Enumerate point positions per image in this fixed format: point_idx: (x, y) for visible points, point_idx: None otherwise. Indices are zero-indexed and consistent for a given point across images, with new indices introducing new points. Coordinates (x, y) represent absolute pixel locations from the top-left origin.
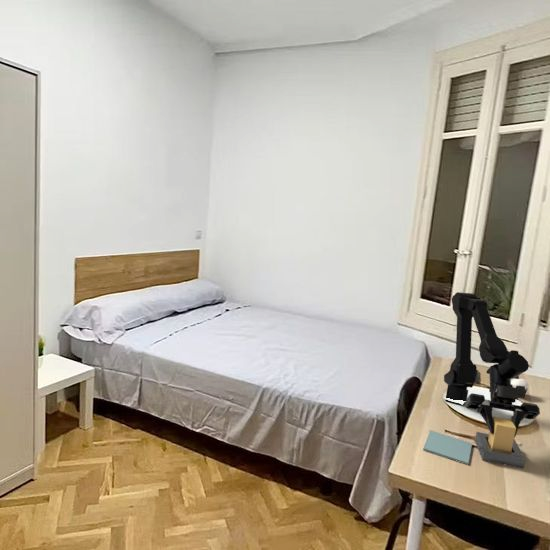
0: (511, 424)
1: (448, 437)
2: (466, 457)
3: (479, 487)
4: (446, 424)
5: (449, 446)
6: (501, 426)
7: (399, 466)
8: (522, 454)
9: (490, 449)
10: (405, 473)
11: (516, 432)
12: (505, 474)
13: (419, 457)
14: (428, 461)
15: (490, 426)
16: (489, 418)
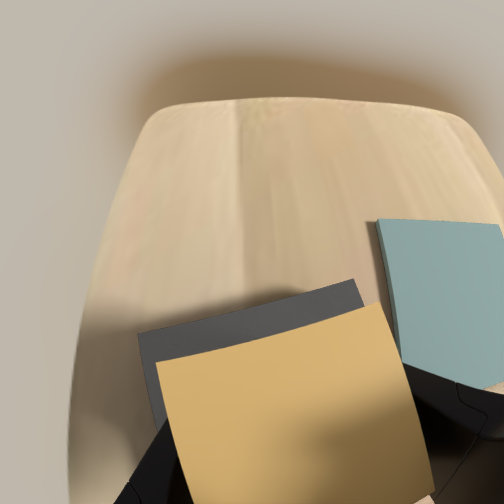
0: (210, 446)
1: (486, 371)
2: (396, 253)
3: (310, 132)
4: None
5: (465, 295)
6: (327, 321)
7: (472, 135)
8: (146, 374)
9: (326, 312)
10: (451, 119)
11: (161, 428)
12: (235, 244)
13: (478, 186)
14: (457, 179)
15: (407, 365)
16: (465, 390)
